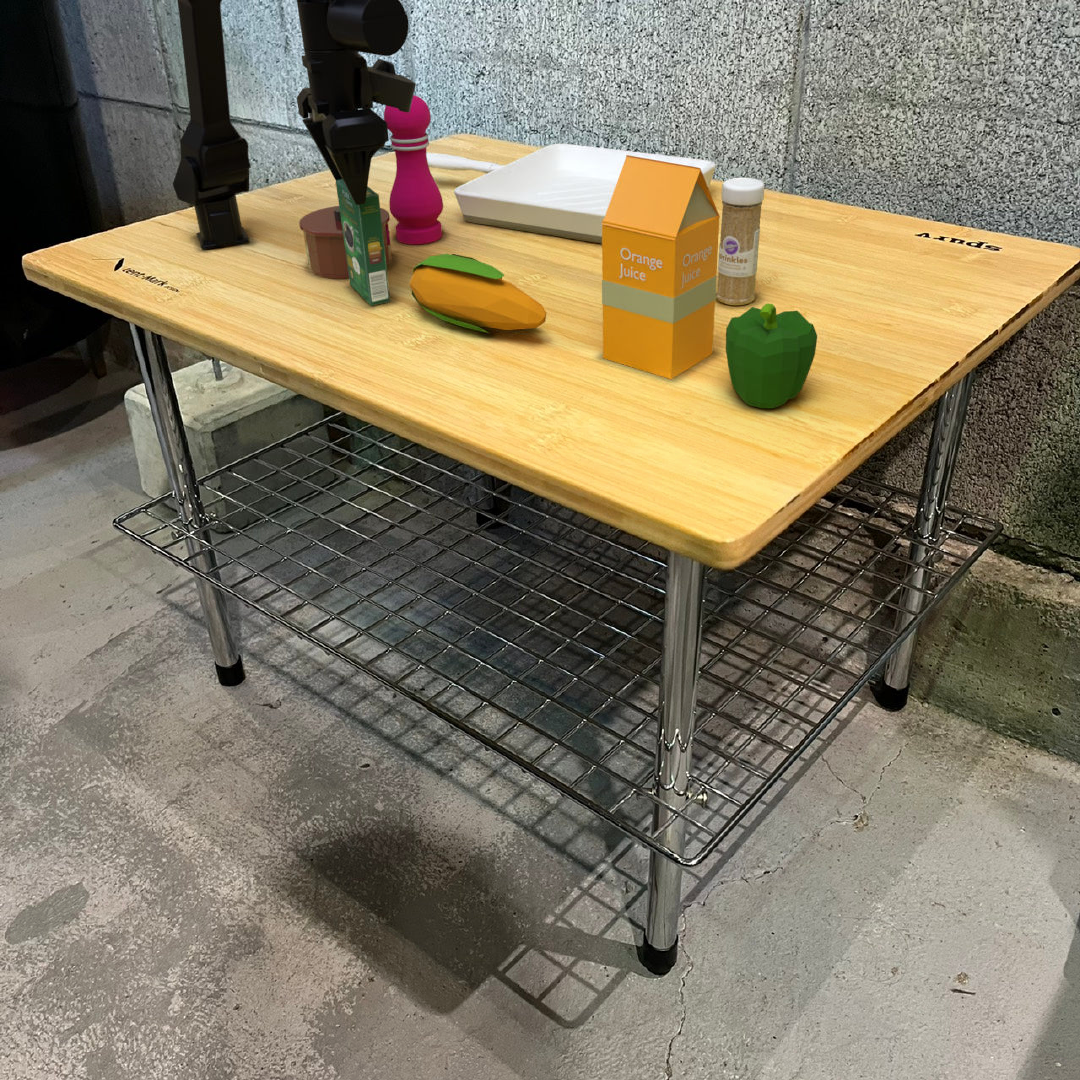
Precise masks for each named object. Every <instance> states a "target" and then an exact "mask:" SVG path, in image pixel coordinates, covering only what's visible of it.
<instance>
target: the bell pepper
mask: <svg viewBox="0 0 1080 1080" xmlns="http://www.w3.org/2000/svg"><path fill="white" fill-rule="evenodd" d="M817 340H818V334H817V331H816V328H815V326H814V324H813V323H811V322H809V321H808V320H807V319H806V318H805V317H804V316H803V315H802V313H800V311H798V310H786V311H785V310H784V311H781V312H779V313H778V314H777V307H776V306H775V305H774V304H773V303H765V304H764V305H763V306H761V308H757V307H755V306H752V307H750V308H749V309H748V310H746V311H745V312H744V313H743V314H741V315H740V316H735V317H731V318H730V320H729V322H728V325H727V326H726V328H725V354H726V360H727V367H728V373H729V378H730V382H731V385H732V387H733V389H734V392H735V393H736V394H737V395H739V397H740V399H741V400H742V401H743V402H745V404H747V405H748V406H751V407H755V408H759V409H775V408H777V407H780V406H782V405H785V404H786V402H787V401H788V400H791V399H794V398H796V397H797V396H798V394H799V393H800V392H801V391H802V389H803V388H804V385H805V383H806V381H807V378H808V376H809V373H810V371H811V368H812V365H813V362H814V359H815V356H816V351H817V350H816V348H817Z"/></svg>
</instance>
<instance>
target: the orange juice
mask: <svg viewBox="0 0 1080 1080" xmlns="http://www.w3.org/2000/svg"><path fill="white" fill-rule="evenodd" d="M720 217H721V216H720V214H719V211H718V208H717V207H716V203H715V200H714V199H713V196H712V194H711V192H710V188H709V189H708V186H707V184H706V181H705V179H704V176H703V174H702V171H701V169H700V168H698V167H692V166H686V165H680V164H675V163H669V162H663V161H658V160H652V159H646V158H641V157H635V156H629V155H626V159H625V162H624V164H623V167H622V170H621V173H620V176H619V178H618V181H617V184H616V187H615V190H614V192H613V195H612V198H611V201H610V204H609V206H608V209H607V212H606V215H605V218H604V220H603V221H602V244H601V245H602V246H601V249H602V250H601V253H602V254H601V255H602V256H601V258H602V259H601V260H602V261H601V262H602V266H601V268H602V272H601V273H602V279H601V304H602V358H603V360H604V359H605V360H608V361H611V362H615V363H617V364H620V365H623V366H627V367H631V368H633V369H636V370H640V371H644V372H646V373H649V374H653V375H656V376H660V377H663V378H665V379H670V380H672V379H674V378H676V377H677V376H679V375H681V374H682V373H684V372H686V371H687V370H689V369H690V368H692V367H694V366H696V365H697V364H698V363H700V362H702V361H704V360H705V359H707V358H709V357H710V356H712V355H713V349H714V332H715V331H714V330H715V329H714V328H715V312H716V309H715V308H716V300H717V297H716V293H717V286H718V274H717V272H718V256H719V237H720V236H719V234H720V233H719V232H720Z"/></svg>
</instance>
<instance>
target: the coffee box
mask: <svg viewBox="0 0 1080 1080" xmlns="http://www.w3.org/2000/svg"><path fill="white" fill-rule="evenodd" d="M335 188H336V195H337V200H338V206H339V208H340V215H341V222H342V229H343V236H344V244H345V251H346V258H347V265H348V272H349V285H350V286H351V287H352V288H353V290H354V291H355V292H357V293H358V294H359V296H360V297H362V298H363V300H364V301H365V302H366V303H367V304H368V305H369V306H371V307H372V306H377V305H382V304H387V303H390V302H391V298H390V297H391V296H390V287H389V286H390V285H389V278H388V277H389V276H388V269H387V268H388V267H386V258H385V248H384V240H383V231H382V220H381V212H380V208H381V205H380V204H381V203H380V195H379V194H378V193H377V192H375V191H374V190H373V189H372V188H370V187H369V186H367V194H366V202H365V203H364V204H360V205H356V204H355V203H354V201H353V199H352V197H351V195H350V193H349V191H348V189H347V187H346V185H345V183H344V181H343V179H340V180H337V181H336V180H335Z"/></svg>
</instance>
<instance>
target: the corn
mask: <svg viewBox="0 0 1080 1080" xmlns="http://www.w3.org/2000/svg"><path fill="white" fill-rule="evenodd" d="M505 276H506V275H505V274H504V273H503V272H502V271H500V270H499V269H498V268H496V267H494V266H493V265H491V264H489V263H484V262H482V261H480V260H477V259H476V258H473V257H470V256H466V255H465V256H464V255H460V254H455V253H452V254H450V253H443V254H437V255H430V256H428V257H427V258H425V259H424V260H422V261H421V262H419V263H418V264H417V265H416V266H415V267H413V268H412V276H411V279H410V281H409V286H410V289H411V296H412V297H413V298H414V300H415V302H416V303H417V304H418V305H419V306H421V307H422V309H424V311H426V312H427V313H428V314H431V315H433V316H434V317H436V318H439V319H440V320H442V321H444V322H447V323H451V324H454V325H457V326H459V327H463V328H465V329H470V330H474V331H479V332H483V333H487V334H491V332H489V331H486V330H485V329H483V327H484V328H491V329H497V330H504V331H513V330H526V329H527V330H529V329H537V328H539V327H540V326H542V325H543V324H545V323H546V320H547V310H546V309H545V307H544V305H543V304H542V303H540V302H538V300H537V299H535V298H533V297H532V296H530V295H529V294H527V293H526V292H525V291H523V290H522V289H521V288H519V287H517V285H514V284H513V283H512V282H509V281H507V280H505V279H503V277H505ZM481 327H482V328H481Z"/></svg>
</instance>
